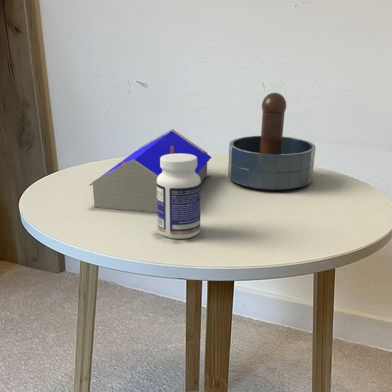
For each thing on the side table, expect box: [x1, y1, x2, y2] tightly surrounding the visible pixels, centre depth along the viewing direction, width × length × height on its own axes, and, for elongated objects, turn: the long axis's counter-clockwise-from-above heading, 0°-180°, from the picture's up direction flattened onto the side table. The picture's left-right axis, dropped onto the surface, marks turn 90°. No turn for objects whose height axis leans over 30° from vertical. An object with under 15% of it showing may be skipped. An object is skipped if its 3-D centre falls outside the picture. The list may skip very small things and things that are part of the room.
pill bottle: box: [156, 153, 202, 240], centre depth 78 cm, size 6×6×10 cm
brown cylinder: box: [260, 92, 287, 154], centre depth 100 cm, size 4×4×13 cm
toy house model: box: [89, 128, 212, 214], centre depth 95 cm, size 22×14×7 cm, turn 167°
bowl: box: [227, 135, 316, 192], centre depth 101 cm, size 14×14×6 cm
